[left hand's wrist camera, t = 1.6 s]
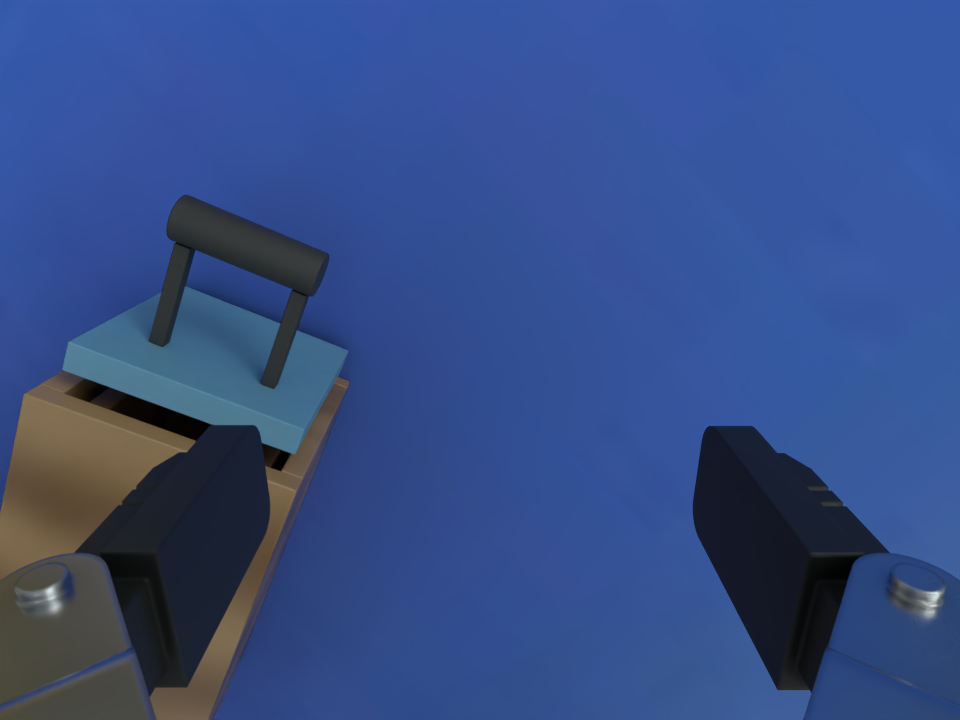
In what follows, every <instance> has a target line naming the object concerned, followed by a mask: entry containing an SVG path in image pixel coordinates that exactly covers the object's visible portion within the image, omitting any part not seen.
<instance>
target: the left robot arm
mask: <svg viewBox="0 0 960 720" xmlns="http://www.w3.org/2000/svg"><path fill="white" fill-rule="evenodd" d="M269 518H270V496H269V489H268V482H267V475H266V468H265V461H264V454H263V448H262V441H261V435H260V432H259V430H258V428H257V427H256V426H255V425H211V426H210V427H208V428H207V430H206V431H205V432H204V433H203V434H202V435H201V436H200V438H199V439H198V440H197V441H196V442H195V443H194V444H193V446H192V447H191V448H190V449H189V450H188V451H187V452H179V453H177V454H175V455H174V456H172V457H170V458H169V459H167V460H165V461H164V462H162V463H160V464H159V465H157V466H155V467H153V468H152V469H151V470H150V472H149V473H148V474H147V475H146V476H145V477H144V478H143V479H142V480H141V481H140V482H139V483H138V484H137V486H136V490H132V491H131V492H130V493H129V494H128V495H127V496H126V497H125V498H124V499H123V501H122V505H118V506H117V507H116V508H115V509H114V510H113V511H112V512H111V513H110V515H109V516H108V517H107V518H106V519H105V520H104V521H103V522H102V523H101V524H100V525H99V526H98V527H97V529H96V530H95V531H94V532H93V533H92V534H91V535H90V536H89V537H88V538H87V539H86V540H85V541H84V543H83V544H82V545H81V546H80V547H79V548H78V549H77V550H76V551H75V552H74V553H68V554H61V555H56V556H52V557H48V558H45V559H41V560H39V561H36V562H33V563H31V564H28V565H26V566H24V567H22V568H20V569H18V570H16V571H14V572H13V573H11V574H9V575H8V576H6V577H5V578H3V579H2V580H0V720H157V719H156V716H155V713H154V710H153V707H152V703H151V700H150V696H151V694H152V693H153V691H154V689H155V688H187V687H188V685H189V683H190V681H191V679H192V677H193V675H194V673H195V671H196V669H197V667H198V665H199V663H200V662H201V660H202V658H203V656H204V654H205V652H206V650H207V648H208V646H209V644H210V642H211V640H212V638H213V636H214V634H215V632H216V630H217V628H218V626H219V624H220V622H221V621H222V619H223V617H224V615H225V613H226V611H227V609H228V607H229V605H230V603H231V601H232V599H233V597H234V595H235V593H236V591H237V589H238V587H239V585H240V583H241V582H242V580H243V578H244V576H245V574H246V572H247V570H248V568H249V566H250V564H251V562H252V560H253V558H254V556H255V554H256V552H257V550H258V548H259V546H260V544H261V542H262V541H263V539H264V537H265V534H266V532H267V528H268V524H269ZM693 518H694V524H695V529H696V532H697V535H698V537H699V539H700V541H701V543H702V545H703V547H704V549H705V551H706V553H707V555H708V557H709V559H710V560H711V562H712V564H713V566H714V568H715V570H716V572H717V574H718V576H719V578H720V580H721V582H722V584H723V586H724V587H725V589H726V591H727V593H728V595H729V597H730V599H731V601H732V603H733V605H734V607H735V609H736V611H737V612H738V614H739V616H740V618H741V620H742V622H743V624H744V626H745V628H746V630H747V632H748V634H749V636H750V638H751V639H752V641H753V643H754V645H755V647H756V649H757V651H758V653H759V655H760V657H761V659H762V661H763V663H764V665H765V666H766V668H767V670H768V672H769V674H770V676H771V678H772V680H773V682H774V684H775V686H776V688H777V690H810V691H811V693H812V694H811V697H810V700H809V703H808V707H807V710H806V713H805V716H804V719H803V720H960V580H958V579H957V578H955V577H954V576H952V575H951V574H949V573H947V572H946V571H944V570H942V569H940V568H938V567H936V566H934V565H932V564H929V563H927V562H924V561H921V560H919V559H915V558H912V557H908V556H904V555H899V554H892V553H889V551H888V550H887V549H886V548H885V547H884V546H883V545H882V544H881V543H880V542H879V541H878V540H877V539H876V538H875V537H874V535H873V534H872V533H871V532H870V531H869V530H868V529H867V528H866V527H865V526H864V525H863V524H862V523H861V522H860V521H859V519H858V518H857V517H856V516H855V515H854V514H853V513H852V512H851V511H850V510H849V509H848V508H847V507H843V502H842V501H841V500H840V499H839V498H838V497H837V496H836V495H835V494H834V493H833V492H832V491H828V486H827V485H826V484H825V483H824V482H823V481H822V480H821V479H820V478H819V477H818V476H817V475H816V474H815V473H814V472H813V470H812V469H810V468H809V467H807V466H805V465H804V464H802V463H800V462H798V461H797V460H795V459H793V458H792V457H790V456H788V455H787V454H785V453H777V452H776V451H775V450H774V449H773V448H772V447H771V446H770V444H769V443H768V442H767V441H766V440H765V439H764V438H763V437H762V435H761V434H760V433H759V432H758V431H757V430H756V429H755V428H754V427H752V426H709V427H707V428H706V430H705V432H704V434H703V438H702V444H701V451H700V458H699V464H698V471H697V478H696V485H695V492H694V499H693Z"/></svg>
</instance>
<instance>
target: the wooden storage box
mask: <svg viewBox="0 0 960 720" xmlns="http://www.w3.org/2000/svg"><path fill="white" fill-rule="evenodd" d="M349 383H350V382H349V381H348V380H345V379H342V378H340V377H337V379H336V381H335V383H334V384H333V386H332V388H331V390H330V392H329V394H328V395H327V397H326V399H325V401H324V403H323V405H322V406H321V408H320V410H319V412H318V414H317V416H316V417H315V419H314V421H313V423H312V425H311V427H310V428H309V430H308V432H307V434H306V436H305V438H304V439H303V441H302V443H301V445H300V447H299V449H298V450H297V452H296V454H295V455H294V454H290V456H289V458H288V459H287V461H286V463H285V465H284V466H283V468H282V470H281V471H279V470H276V469H273V468H270V467H267V466H265V468H266V475H267V482H268V489H269V496H270V518H269V524H268V528H267V532H266V534H265V537H264V539H263V541H262V542H261V544H260V546H259V548H258V550H257V552H256V554H255V556H254V558H253V560H252V562H251V564H250V566H249V568H248V570H247V572H246V574H245V576H244V578H243V580H242V582H241V583H240V585H239V587H238V589H237V591H236V593H235V595H234V597H233V599H232V601H231V603H230V605H229V607H228V609H227V611H226V613H225V615H224V617H223V619H222V621H221V622H220V624H219V626H218V628H217V630H216V632H215V634H214V636H213V638H212V640H211V642H210V644H209V646H208V648H207V650H206V652H205V654H204V656H203V658H202V660H201V662H200V663H199V665H198V667H197V669H196V671H195V673H194V675H193V677H192V679H191V681H190V683H189V685H188V687H187V688H155V689H154V691H153V693H152V694H151V696H150V700H151V703H152V707H153V710H154V713H155V716H156V719H157V720H214V719H215V717H216V715H217V712H218V710H219V708H220V705H221V703H222V701H223V699H224V696H225V694H226V692H227V689H228V687H229V685H230V683H231V680H232V678H233V676H234V674H235V671H236V669H237V667H238V664H239V662H240V660H241V657H242V655H243V652H244V650H245V647H246V645H247V642H248V640H249V637H250V634H251V632H252V629H253V627H254V624H255V622H256V619H257V617H258V614H259V612H260V609H261V607H262V604H263V602H264V599H265V596H266V594H267V591H268V589H269V586H270V584H271V581H272V579H273V576H274V574H275V571H276V569H277V566H278V563H279V561H280V558H281V556H282V553H283V551H284V548H285V546H286V543H287V541H288V538H289V536H290V533H291V530H292V528H293V525H294V523H295V520H296V518H297V515H298V513H299V510H300V508H301V505H302V503H303V500H304V497H305V495H306V492H307V490H308V487H309V485H310V482H311V480H312V477H313V475H314V472H315V470H316V467H317V465H318V462H319V459H320V457H321V454H322V452H323V449H324V447H325V444H326V442H327V439H328V437H329V434H330V432H331V429H332V426H333V424H334V421H335V419H336V416H337V414H338V411H339V409H340V406H341V404H342V401H343V399H344V396H345V393H346V391H347V388H348V386H349ZM108 388H110V387H107V386H105V385H102V384H99V383H96V382H94V381H91V380H88V379H85V378H83V377H80V376H77V375H74V374H72V373H69V372H66V371H61V372H59V373H58V374H56V375H54V376H53V377H51V378H49V379H48V380H46V381H44V382H43V383H41V384H40V385H38V386H36V387H35V388H33V389H31V390H30V391H28V392H26V393H25V394H24V395H23V400H22V405H21V410H20V416H19V421H18V426H17V431H16V436H15V441H14V446H13V451H12V456H11V461H10V466H9V471H8V476H7V481H6V486H5V492H4V497H3V502H2V507H1V512H0V580H2V579H3V578H5V577H6V576H8V575H9V574H11V573H13V572H14V571H16V570H18V569H20V568H22V567H24V566H26V565H28V564H31V563H33V562H36V561H39V560H41V559H45V558H48V557H52V556H56V555H61V554H68V553H74V552H75V551H76V550H77V549H78V548H79V547H80V546H81V545H82V544H83V543H84V541H85V540H86V539H87V538H88V537H89V536H90V535H91V534H92V533H93V532H94V531H95V530H96V529H97V527H98V526H99V525H100V524H101V523H102V522H103V521H104V520H105V519H106V518H107V517H108V516H109V515H110V513H111V512H112V511H113V510H114V509H115V508H116V507H117V506H118V505H122V501H123V499H124V498H125V497H126V496H127V495H128V494H129V493H130V492H131V491H132V490H136V486H137V484H138V483H139V482H140V481H141V480H142V479H143V478H144V477H145V476H146V475H147V474H148V473H149V472H150V470H151V469H152V468H153V467H155V466H157V465H159V464H160V463H162V462H164V461H165V460H167V459H169V458H170V457H172V456H174V455H175V454H177V453H179V452H187V451H188V450H189V449H190V448H191V447H192V446H193V444H194V443H195V442H196V441H195V440H192V439H189V438H187V437H184V436H181V435H178V434H176V433H173V432H170V431H167V430H164V429H162V428H159V427H156V426H153V425H150V424H148V423H145V422H142V421H139V420H137V419H134V418H131V417H128V416H125V415H123V414H120V413H117V412H114V411H112V410H109V409H106V408H103V407H100V406H98V405H95V404H92V403H89V402H90V401H91V400H93V399H94V398H96V397H97V396H98V395H100V394H101V393H103V392H104V391H105V390H107V389H108Z"/></svg>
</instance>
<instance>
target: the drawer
mask: <svg viewBox="0 0 960 720" xmlns="http://www.w3.org/2000/svg"><path fill="white" fill-rule="evenodd" d="M167 236H168V238H169V239H170V240H173V241H175V242H176V243H175V244H174V247H173V251H172V255H171V259H170V262H169V266H168V270H167V274H166V277H165V281H164V285H163V289H162V292H161V293H159V294H157V295H155V296H153V297H151V298H149V299H148V300H146V301H144V302H142V303H140V304H138V305H136V306H134V307H133V308H131V309H129V310H127V311H125V312H123V313H121V314H119V315H118V316H116V317H114V318H112V319H110V320H108V321H106V322H105V323H103V324H101V325H99V326H97V327H95V328H93V329H91V330H90V331H88V332H86V333H84V334H82V335H80V336H78V337H76V338H75V339H73V340H71V341H69V342H68V345H67V350H66V354H65V359H64V363H63V368H62V370H63V371H66V372H69V373H72V374H74V375H77V376H80V377H83V378H85V379H88V380H91V381H94V382H96V383H99V384H102V385H105V386H107V387H110V388H108V389H107V390H105V391H104V392H103V393H101V394H100V395H98V396H97V397H96V398H94V399H93V400H91V401H90V402H89V403H92V404H95V405H98V406H100V407H103V408H106V409H109V410H112V411H114V412H117V413H120V414H123V415H125V416H128V417H131V418H134V419H137V420H139V421H142V422H145V423H148V424H150V425H153V426H156V427H159V428H162V429H164V430H167V431H170V432H173V433H176V434H178V435H181V436H184V437H187V438H189V439H192V440H195V441H197V440H198V439H199V438H200V436H201V435H202V434H203V433H204V432H205V431H206V430H207V428H208V427H210V426H211V425H255V426H256V427H257V428H258V430H259V432H260V435H261V441H262V448H263V454H264V461H265V466H267V467H270V468H273V469H276V470H279V471H281V470H282V468H283V466H284V465H285V463H286V461H287V459H288V458H289V456H290V454H294V455H295V454H296V452H297V450H298V449H299V447H300V445H301V443H302V441H303V439H304V438H305V436H306V434H307V432H308V430H309V428H310V427H311V425H312V423H313V421H314V419H315V417H316V416H317V414H318V412H319V410H320V408H321V406H322V405H323V403H324V401H325V399H326V397H327V395H328V394H329V392H330V390H331V388H332V386H333V384H334V383H335V381H336V379H337V377H338V375H339V373H340V372H341V370H342V367H343V364H344V362H345V359H346V357H347V354H348V350H346V349H343V348H341V347H338V346H336V345H333V344H331V343H328V342H326V341H323V340H320V339H318V338H315V337H313V336H310V335H308V334H305V333H303V332H300V331H298V330H297V329H298V326H299V323H300V320H301V317H302V315H303V312H304V309H305V306H306V303H307V300H308V297H309V296H313V295H314V294H315V293H316V291H317V290H318V288H319V286H320V284H321V281H322V279H323V277H324V274H325V271H326V269H327V265H328V262H329V254H328V253H325V252H323V251H321V250H318V249H316V248H313V247H311V246H309V245H306V244H304V243H301V242H299V241H297V240H294V239H292V238H289V237H287V236H285V235H282V234H280V233H278V232H275V231H273V230H270V229H268V228H266V227H263V226H261V225H258V224H256V223H254V222H251V221H249V220H246V219H244V218H242V217H239V216H237V215H234V214H232V213H230V212H227V211H225V210H222V209H220V208H218V207H215V206H213V205H210V204H208V203H206V202H203V201H201V200H199V199H196V198H194V197H191V196H189V195H184V196H182V197H181V198H179V200H178V201H177V202H176V203H175V205H174V207H173V209H172V211H171V213H170V215H169V219H168V223H167ZM195 250H197V251H200V252H202V253H205V254H207V255H210V256H212V257H214V258H217V259H219V260H222V261H224V262H227V263H229V264H232V265H234V266H237V267H239V268H242V269H244V270H247V271H249V272H251V273H254V274H256V275H259V276H261V277H264V278H266V279H269V280H271V281H274V282H276V283H279V284H281V285H284V286H286V287H288V288H291V289H293V290H292V291H291V294H290V297H289V300H288V303H287V306H286V309H285V312H284V315H283V318H282V321H281V324H280V323H277V322H275V321H272V320H270V319H267V318H265V317H262V316H260V315H257V314H255V313H252V312H250V311H247V310H245V309H242V308H240V307H237V306H235V305H232V304H229V303H227V302H224V301H222V300H219V299H217V298H214V297H212V296H209V295H207V294H204V293H202V292H199V291H197V290H194V289H192V288H189V287H186V286H185V285H186V281H187V278H188V274H189V271H190V267H191V263H192V260H193V256H194V253H195Z"/></svg>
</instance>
